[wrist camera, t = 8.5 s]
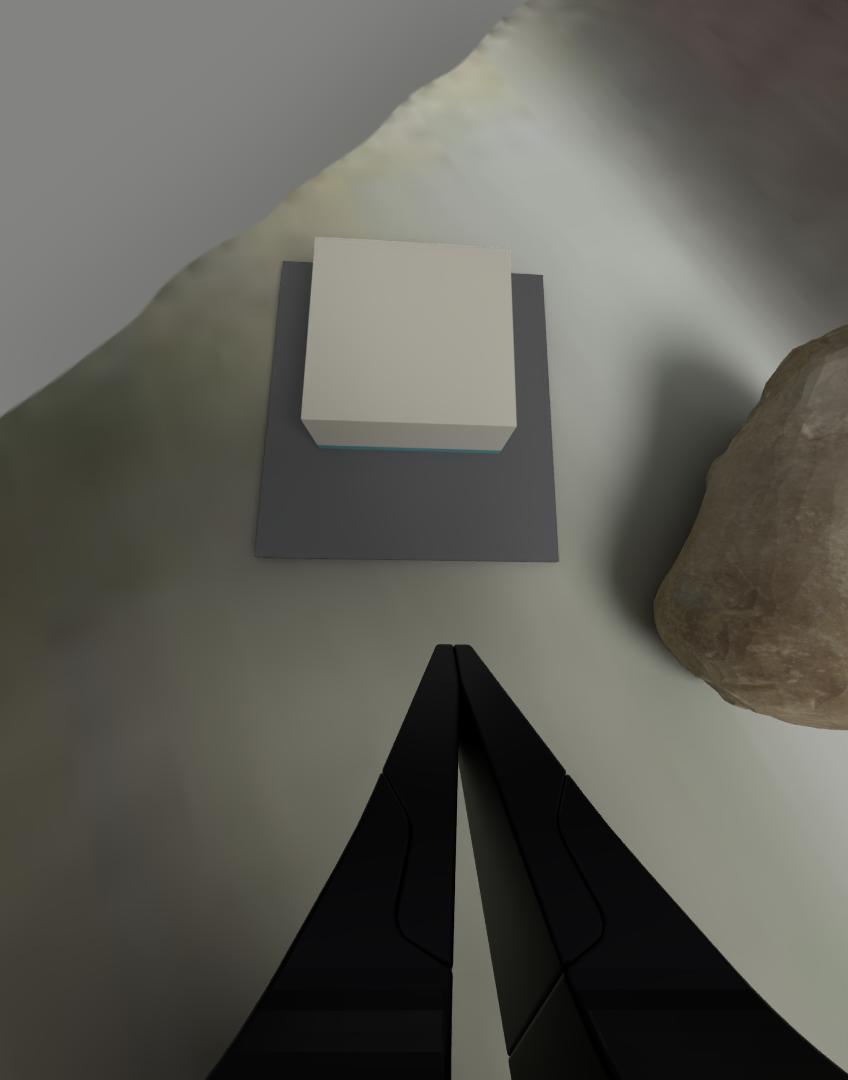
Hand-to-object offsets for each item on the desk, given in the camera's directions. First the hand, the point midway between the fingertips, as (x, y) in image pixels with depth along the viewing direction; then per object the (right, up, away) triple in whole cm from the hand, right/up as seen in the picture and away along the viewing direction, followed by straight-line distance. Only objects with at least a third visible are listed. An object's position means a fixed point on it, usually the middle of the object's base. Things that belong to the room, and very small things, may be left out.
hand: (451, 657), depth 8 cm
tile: (-1, +8, +8) cm, 12 cm away
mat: (-1, +11, +11) cm, 15 cm away
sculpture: (+17, +3, +11) cm, 20 cm away
